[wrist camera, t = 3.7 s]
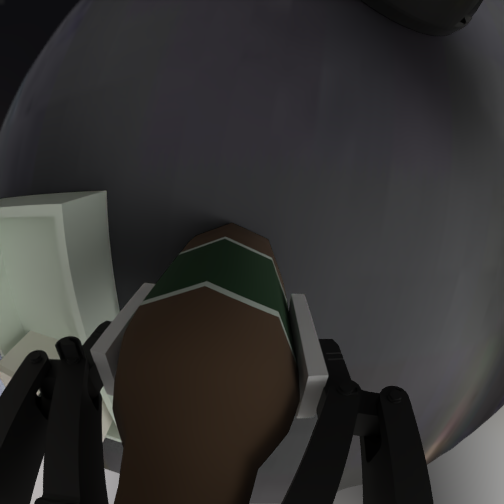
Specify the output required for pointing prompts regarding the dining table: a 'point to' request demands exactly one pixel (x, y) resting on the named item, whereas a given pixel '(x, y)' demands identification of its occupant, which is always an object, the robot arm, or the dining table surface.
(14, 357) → the off-white rectangular block
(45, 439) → the robot arm
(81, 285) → the tote
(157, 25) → the dining table surface
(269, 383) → the beer bottle
